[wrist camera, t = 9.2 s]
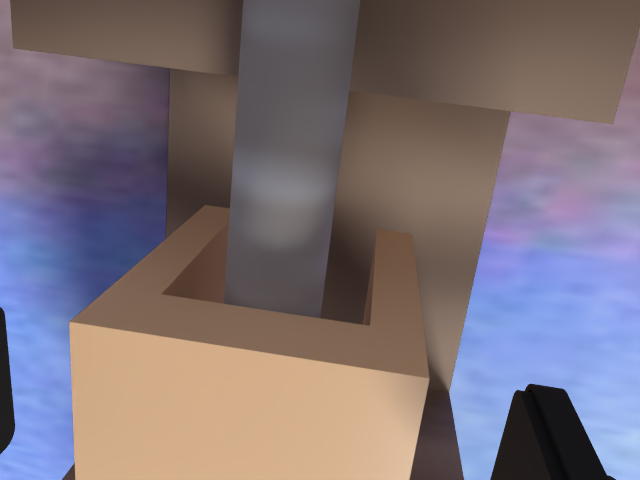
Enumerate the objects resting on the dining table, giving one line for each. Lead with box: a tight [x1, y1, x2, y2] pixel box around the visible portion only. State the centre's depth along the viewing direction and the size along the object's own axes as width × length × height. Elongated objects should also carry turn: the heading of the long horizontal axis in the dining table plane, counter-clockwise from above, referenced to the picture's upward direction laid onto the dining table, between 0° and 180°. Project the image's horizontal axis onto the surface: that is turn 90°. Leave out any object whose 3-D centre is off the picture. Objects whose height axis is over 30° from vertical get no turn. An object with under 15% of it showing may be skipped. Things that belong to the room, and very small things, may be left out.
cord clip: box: [69, 205, 430, 480], centre depth 14 cm, size 4×6×8 cm, turn 84°
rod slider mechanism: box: [10, 0, 640, 480], centre depth 17 cm, size 26×12×12 cm, turn 173°
